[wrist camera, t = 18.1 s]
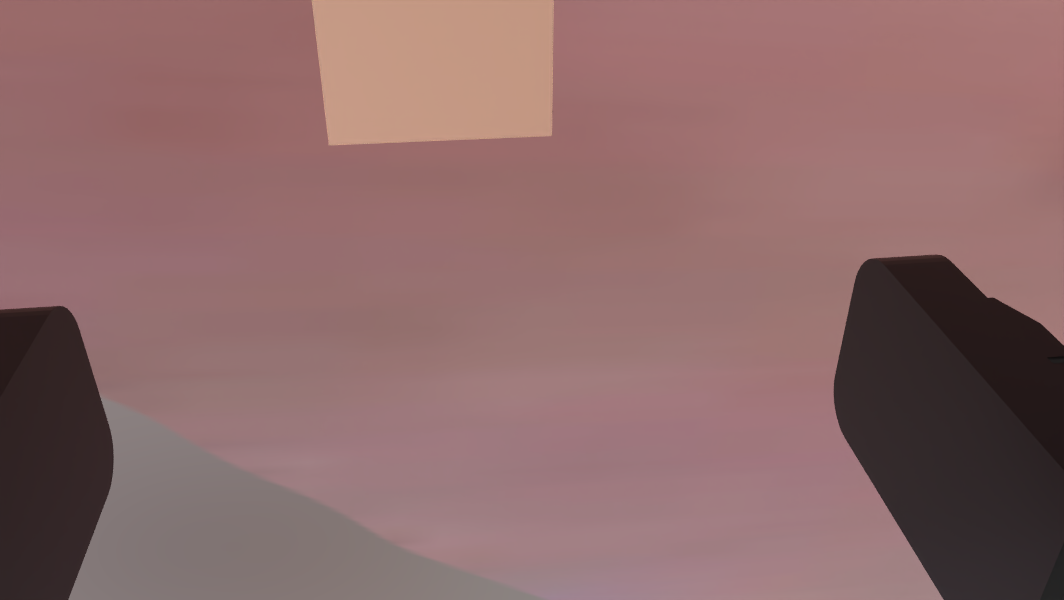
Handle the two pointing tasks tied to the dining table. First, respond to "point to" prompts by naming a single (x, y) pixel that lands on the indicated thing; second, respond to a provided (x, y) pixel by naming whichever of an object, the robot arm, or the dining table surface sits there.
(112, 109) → the dining table surface
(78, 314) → the dining table surface
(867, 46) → the dining table surface
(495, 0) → the tan block
